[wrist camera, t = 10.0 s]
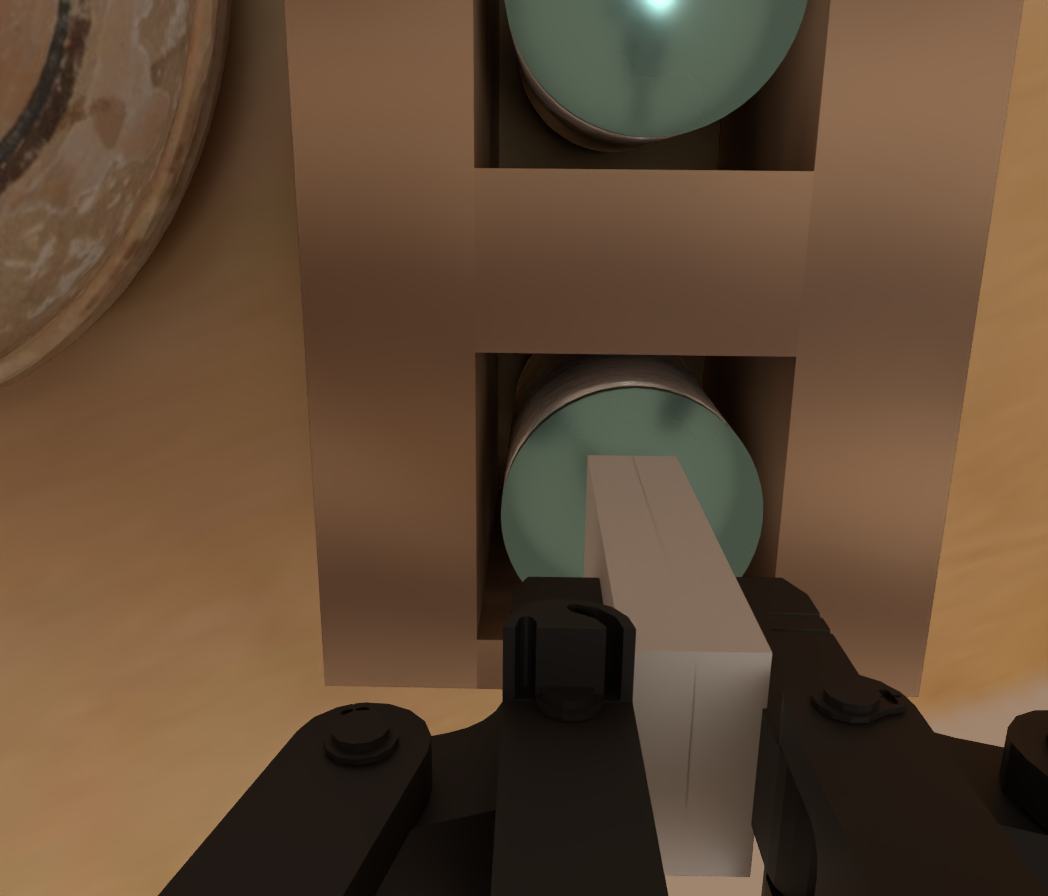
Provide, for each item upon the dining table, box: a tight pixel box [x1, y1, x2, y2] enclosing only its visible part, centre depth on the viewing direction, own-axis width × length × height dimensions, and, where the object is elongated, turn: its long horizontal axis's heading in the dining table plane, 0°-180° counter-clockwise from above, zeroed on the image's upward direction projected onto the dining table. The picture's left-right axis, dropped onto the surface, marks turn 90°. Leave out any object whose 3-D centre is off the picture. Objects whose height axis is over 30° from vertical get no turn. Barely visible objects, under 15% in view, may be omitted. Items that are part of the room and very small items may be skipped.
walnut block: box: [284, 0, 1024, 697], centre depth 20 cm, size 17×12×9 cm
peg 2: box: [501, 353, 763, 582], centre depth 21 cm, size 5×5×8 cm
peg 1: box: [504, 0, 808, 152], centre depth 18 cm, size 5×5×8 cm
